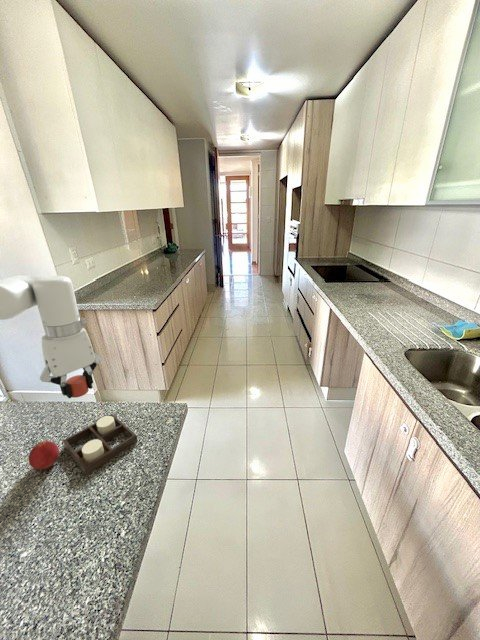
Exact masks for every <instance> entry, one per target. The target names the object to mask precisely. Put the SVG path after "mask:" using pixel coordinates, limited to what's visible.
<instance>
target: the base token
mask: <svg viewBox="0 0 480 640" xmlns="http://www.w3.org/2000/svg"><path fill="white" fill-rule="evenodd" d="M81 448H82V454H83V457H84V461H85V464H86V465H88V464H90V463H91V462H93V461H94V460H96V459H97V458H99V457H100V456H102V455H104V454H105V453H104V448H103V445H102V441H101V440H98V439H90V440H89V441H87V442H86V443H85V444H83V446H82V447H81Z"/></svg>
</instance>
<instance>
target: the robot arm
mask: <svg viewBox="0 0 480 640" xmlns="http://www.w3.org/2000/svg"><path fill="white" fill-rule="evenodd" d="M36 306H37V310H38V313H39V316H40V320H41V323H42V327H43V331H44V334H45V335H42V337H41V351H42V356H43V363H44V366H45V367H44V369H43V370H42V372H41V374H40V376H39V380H40V381H41V382H43V383H51V384H55V385H58V386H59V387H60V391H61V394H62V396H66V397H67V398H68V399H71V398H73V397H72V393H71V389H70V386H69V384H68V383H67V382H66V381H67V379H68V378H67V377H68V376H67V375H68V374H70V373H73V372H75V371H78V370H81V369H82V370H83V372H82V374H81V375H84V376H85V377H86V381H87V385H88V389H90V390H92V389H93V384H94V379H93V374H94V371H95V369H96V368H97V366H98V364H99V363H100V362H101V361H102V359H103V357H102V356H101V355H100V354H98V353H97V352H95V351H94V348H93V345H92V342H91V339H90V336H89V334H88V332H87V330H86V328H84V325H85V324H87V323H88V320H87V318H86V317H83V318H82V317H81V316H80V313H79V308H78V303H77V298H76V293H75V289H74V284H73V281H72V280H71V278H70V277H68V276H64V275H47V276H34V275H24V274H19V275H12V276H9V277H6V278H2V279H0V321H3V320H9V319H13V318H15V317H17V316H19V315H20V314H23V312H25V311H26V310H29V309H31V308H33V307H36Z"/></svg>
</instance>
